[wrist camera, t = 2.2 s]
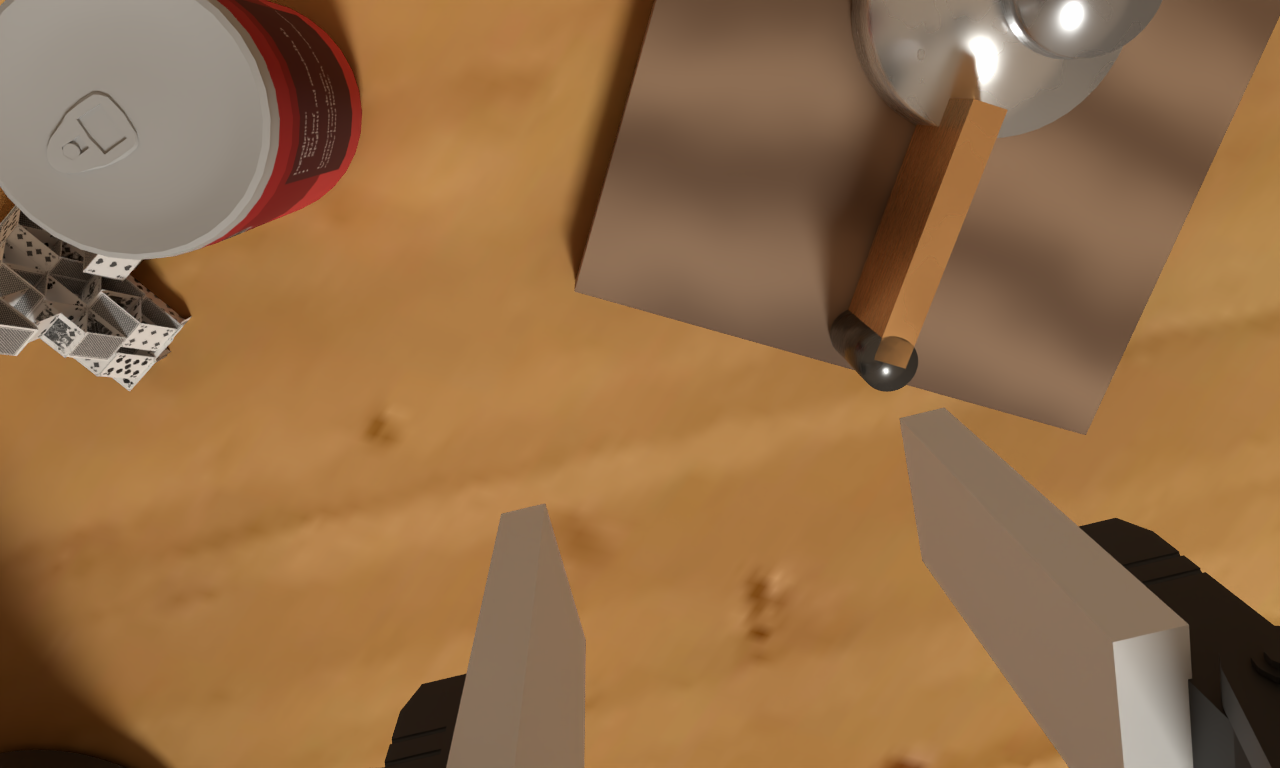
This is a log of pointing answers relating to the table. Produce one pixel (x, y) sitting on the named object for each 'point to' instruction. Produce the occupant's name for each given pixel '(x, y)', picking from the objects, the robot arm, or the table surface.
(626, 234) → the level stand
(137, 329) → the house of cards
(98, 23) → the canned food
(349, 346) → the table surface
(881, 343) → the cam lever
